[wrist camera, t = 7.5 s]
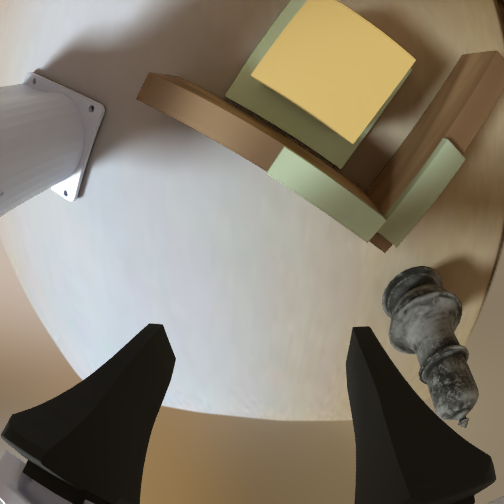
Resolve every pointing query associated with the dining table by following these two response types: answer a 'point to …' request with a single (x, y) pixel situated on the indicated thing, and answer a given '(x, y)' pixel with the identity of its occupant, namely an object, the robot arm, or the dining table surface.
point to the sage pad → (285, 111)
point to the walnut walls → (331, 181)
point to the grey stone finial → (432, 339)
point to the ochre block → (334, 66)
